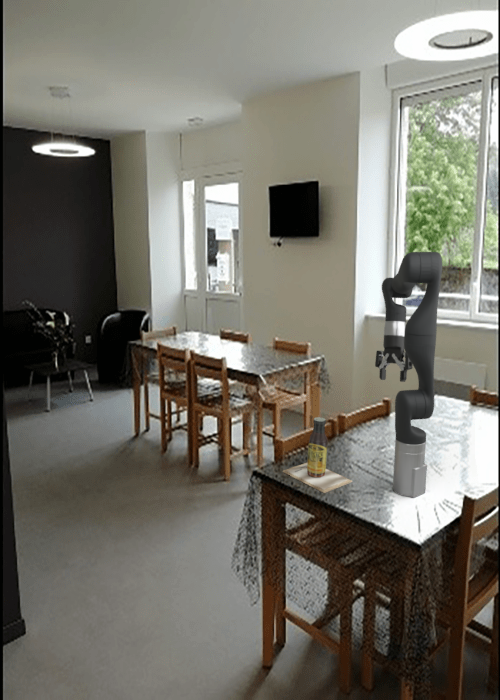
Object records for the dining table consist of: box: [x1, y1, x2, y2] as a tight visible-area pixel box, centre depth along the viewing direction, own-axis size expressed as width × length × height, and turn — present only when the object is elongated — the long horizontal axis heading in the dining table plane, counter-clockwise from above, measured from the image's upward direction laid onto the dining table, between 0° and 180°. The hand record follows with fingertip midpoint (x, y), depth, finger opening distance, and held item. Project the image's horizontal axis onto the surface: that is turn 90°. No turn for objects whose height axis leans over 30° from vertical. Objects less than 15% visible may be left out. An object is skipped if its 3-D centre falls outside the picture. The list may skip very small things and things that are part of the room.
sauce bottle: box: [306, 416, 328, 477], centre depth 187 cm, size 7×6×20 cm
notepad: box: [282, 462, 353, 494], centre depth 189 cm, size 20×13×1 cm, turn 38°
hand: (392, 380), depth 196 cm, fingers open, 8 cm apart
